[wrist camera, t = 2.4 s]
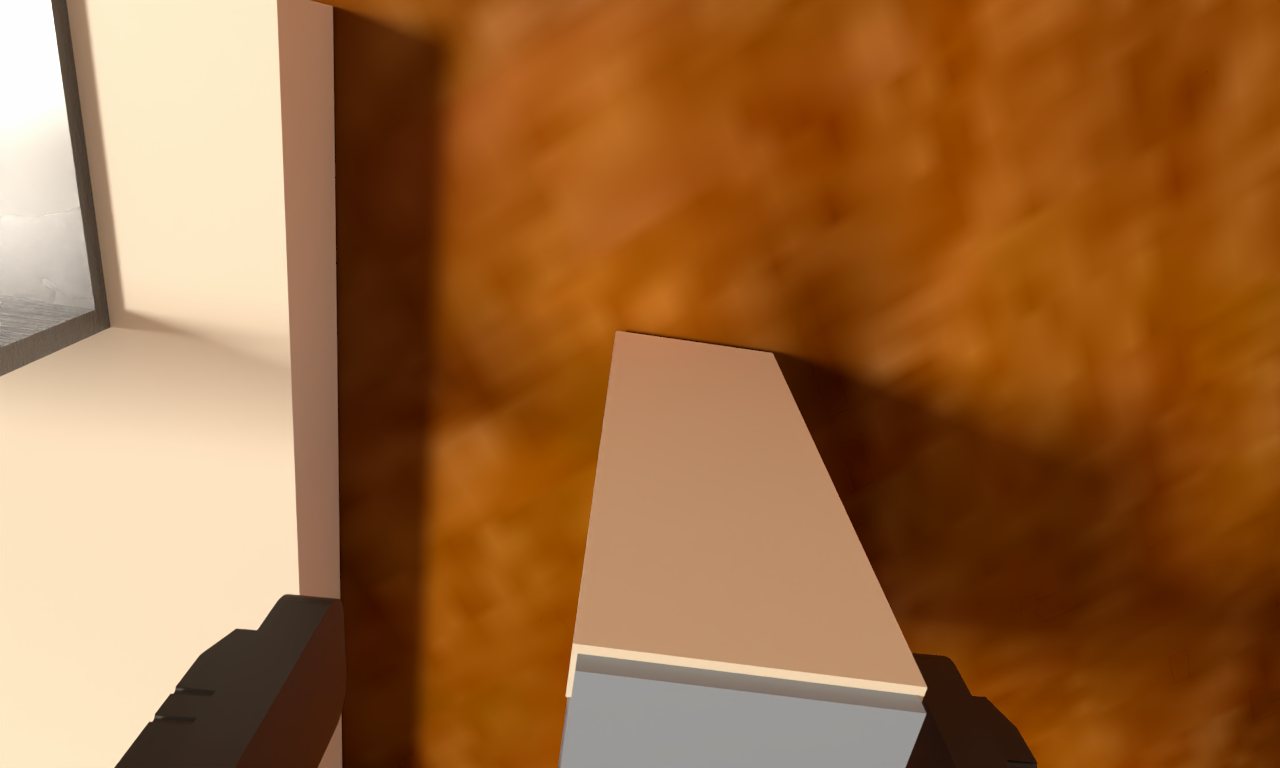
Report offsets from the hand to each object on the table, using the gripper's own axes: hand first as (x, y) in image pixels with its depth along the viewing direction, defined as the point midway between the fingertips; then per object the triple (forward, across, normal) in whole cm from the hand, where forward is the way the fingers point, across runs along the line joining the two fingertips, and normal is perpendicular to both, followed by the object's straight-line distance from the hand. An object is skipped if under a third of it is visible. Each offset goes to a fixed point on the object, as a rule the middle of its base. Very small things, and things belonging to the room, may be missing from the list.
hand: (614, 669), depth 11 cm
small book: (+5, -1, 0) cm, 6 cm away
